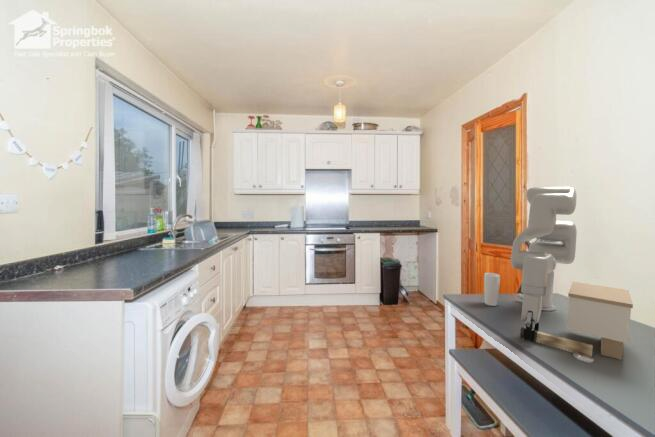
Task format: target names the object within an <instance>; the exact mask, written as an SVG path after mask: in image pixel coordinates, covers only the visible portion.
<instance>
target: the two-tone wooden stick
mask: <svg viewBox="0 0 655 437" xmlns="http://www.w3.org/2000/svg"><path fill="white" fill-rule="evenodd" d="M524 327H525V326H521V328H520V332H519V333H520V335H519V338H520V339H522V338H523V337H524ZM537 342H539V343H538V344H540V343H542V344H541V345H544V344H546V345H545V346H547V345H549V346H548V347H551V346H553V347H552V348H555V347H557V348H556V349H558V348H560V349H559V350H562V349H564V350H563V351H565V350H568V351H567V352H569V351H571V352H570V353H573V352H581V353H585V354H588V355H590V356H592V357H593V348H594V347H593V344H589V343H586V342H581V341H578V340H573V339H570V338H566V337H561V336H559V335H555V334H549V333H545V332H543V331H539V330H538V331H536V330H535V339H534V342H533V343H537Z"/></svg>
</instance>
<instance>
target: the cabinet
mask: <svg viewBox="0 0 655 437" xmlns="http://www.w3.org/2000/svg"><path fill="white" fill-rule="evenodd" d="M567 297H569V299H568V313H567V327H566V329H567V330H570V331H573V332H578V333H581V334H582V333H583V334H586V335H591V336H595V337H599V338H600V355H602V356H606V357H610V358H613V359H617V360H623V349H624V347H623V346H624V343H625V344H629V336H630V326H631V325H630V324H631V313H632V309H633V307H634V304H633V300H632V298H631V294H630V291H629V289H623V288H616V287H611V286H610V287H609V286H604V285H598V284H597V285H596V284H590V283H584V282H578V281H572V283H571V286H570V288H569V291H568V296H567Z"/></svg>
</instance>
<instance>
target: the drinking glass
mask: <svg viewBox="0 0 655 437" xmlns="http://www.w3.org/2000/svg"><path fill="white" fill-rule="evenodd" d="M483 275H484V276H483V277H484V278H483V287H484V288H483V289H484V290H483V293H484V294H483V295H484V305H486V306H490V307H491V306H492V307H496V306H497V304H498V296H499V291H500V290H499V289H500V282H501V275H500V274H499V273H495V272H485V273H484V274H483Z"/></svg>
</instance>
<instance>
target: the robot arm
mask: <svg viewBox="0 0 655 437" xmlns="http://www.w3.org/2000/svg"><path fill="white" fill-rule="evenodd" d="M525 197H526V200H527V202H528V203H529V205H530V206H529V213H528V214H529V215H528V222H527V227H526V228H524V229H523V230H522V231H521V232H520V233H518V235H517V236H516V237H515V238H514V240H513V243H512V245H511V253H510V265H511V267H512V268H513V269H516V270H519V271H522V275H521V293H518V294H517V298H519V299H520V300H522V306H521V307H522V308H521V315H520V316H521V317H520V320H521V321H524V322H525V323H524V326H523V327H524V337H523V338H524V339H523V340H525V341H529V342H532V343H535V342H534V339H535V330H536V331H539V328H540V326H539V325H540V323H539V321H540V318H541V314H542V311H545V312H546V311H547V312H551V311H556V310H557V306H556V305H555V304H553V296H554V295H553V294H554V280H555V272H554V271H555V270H556V267H557V264H562V265H563V264H564V265H570V264H573V263H574V261H575V258H576V248H577V231H578V230H577V226H576V224H575V222H573V221H569V220H557V215H560V216H561V215H564V216H565V215H566V216H570V215H572V214H573V213H574V212H575V210H576V206H577V191H576V189H575V188H574V187H571V186H537V187H536V186H535V187H530V188H528V189H527V190H526V194H525ZM533 239H537V241H533V242H530V244H529V246H528V250H521V247H522V245H523V244H525V243H526V242H528V241H530V240H533ZM538 240H539V241H538Z"/></svg>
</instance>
